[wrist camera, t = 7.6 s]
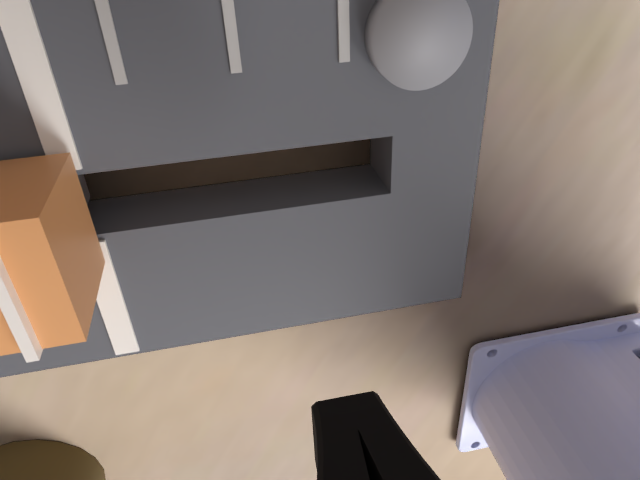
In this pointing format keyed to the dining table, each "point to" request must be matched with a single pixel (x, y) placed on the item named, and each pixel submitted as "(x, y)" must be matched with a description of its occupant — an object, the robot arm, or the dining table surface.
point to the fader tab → (46, 255)
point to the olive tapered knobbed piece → (47, 462)
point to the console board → (254, 137)
